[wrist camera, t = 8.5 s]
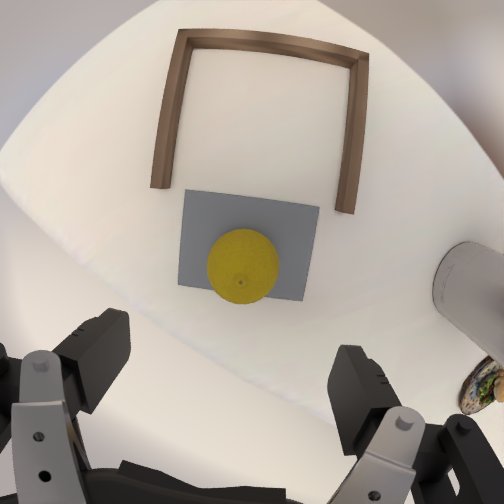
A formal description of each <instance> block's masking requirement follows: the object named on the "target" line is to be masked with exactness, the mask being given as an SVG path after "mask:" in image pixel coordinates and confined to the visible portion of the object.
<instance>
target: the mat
mask: <svg viewBox="0 0 504 504" xmlns="http://www.w3.org/2000/svg"><path fill="white" fill-rule="evenodd" d="M318 213H319V207H316V206H309V205H303V204H296V203H290V202H283V201H276V200H269V199H262V198H254V197H246V196H238V195H230V194H222V193H213V192H204V191H194V190H185V198H184V208H183V219H182V230H181V243H180V257H179V273H178V285H183V286H189V287H196V288H203V289H209V290H214V289H213V287H212V286H211V284H210V281H209V278H208V275H207V260H208V255H209V253H210V250H211V248H212V246H213V245H214V244H215V242H216V241H217V240H218V239H219V238H220V237H221V236H223V235H224V234H226V233H227V232H230V231H233V230H235V229H251V230H254V231H257V232H259V233H261V234H263V235H264V236H265V237H267V238H268V239H269V240H270V242H271V243H272V244H273V245H274V247H275V249H276V252H277V254H278V258H279V265H280V266H279V274H278V277H277V280H276V282H275V285H274V286H273V288H272V289H271V290H270V292H269V293H268V294H267V295H266V296H264V297H270V298H278V299H286V300H295V301H303V296H304V291H305V286H306V281H307V276H308V270H309V265H310V260H311V254H312V248H313V243H314V237H315V231H316V225H317V219H318Z"/></svg>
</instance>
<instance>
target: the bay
mask: <svg viewBox="0 0 504 504" xmlns="http://www.w3.org/2000/svg"><path fill="white" fill-rule="evenodd" d="M193 48H206V49H231V50H245V51H256V52H265V53H273V54H280V55H287V56H294V57H299V58H305V59H310V60H315V61H320V62H325V63H330V64H334V65H338V66H342V67H346V68H350V83H349V97H348V109H347V120H346V130H345V139H344V148H343V156H342V164H341V172H340V179H339V186H338V193H337V200H336V206H335V210H337V211H340V212H342V213H348V214H353V215H354V210H355V204H356V198H357V191H358V184H359V177H360V169H361V161H362V153H363V144H364V134H365V123H366V110H367V95H368V75H369V53H366V52H363V51H359V50H356V49H352V48H348V47H345V46H341V45H336V44H332V43H328V42H323V41H319V40H314V39H309V38H303V37H297V36H291V35H285V34H277V33H269V32H260V31H249V30H235V29H179V30H178V33H177V37H176V41H175V45H174V49H173V53H172V57H171V62H170V66H169V70H168V75H167V80H166V85H165V90H164V95H163V100H162V106H161V111H160V117H159V123H158V129H157V136H156V143H155V150H154V158H153V166H152V175H151V185H150V188H157V189H166V188H170V183H171V174H172V166H173V158H174V150H175V143H176V136H177V129H178V123H179V117H180V111H181V105H182V99H183V94H184V88H185V83H186V78H187V73H188V68H189V64H190V59H191V54H192V50H193Z"/></svg>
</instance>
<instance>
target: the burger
mask: <svg viewBox="0 0 504 504" xmlns="http://www.w3.org/2000/svg"><path fill="white" fill-rule="evenodd" d="M463 387H464V394H463V397H462V399H461V401H460V403H461V411H462V413H463V414H465V415H470V414H473V413H476V412H479V411H480V410H482V409H484V408H485V407H486V406H488V405H489V404H490V403H492V402H494V401H495V400H497V401H498V402H503V401H504V369H503V368H502V367H501V366H500V365H499V364H498V363H497V362H496V361H495V360H493V359H492V358H491V357H490V356H487V357H486V358H485V359H484V360H482V361H481V362H480V363H479V364H478V365H477V366H476V367H475V369H474V371H472V372H471V373H470V375H469V376H468V378H467V379H466V380H465V381H464V383H463Z"/></svg>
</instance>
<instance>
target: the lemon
mask: <svg viewBox="0 0 504 504" xmlns="http://www.w3.org/2000/svg"><path fill="white" fill-rule="evenodd" d="M279 266H280V265H279V258H278V254H277V252H276V249H275V247H274V245H273V244H272V243H271V242H270V240H269V239H268V238H267V237H265V236H264V235H263V234H261V233H259V232H257V231H254V230H251V229H235V230H233V231H230V232H227V233H226V234H224V235H223V236H221V237H220V238H219V239H218V240H217V241H216V242H215V244H214V245H213V246H212V248H211V250H210V253H209V255H208V260H207V275H208V278H209V281H210V284H211V286H212V287H213V289H214V290H215V292H216V293H217V294H218V295H220V296H221V297H222V298H223V299H225V300H227V301H229V302H232V303H236V304H249V303H254V302H256V301H258V300H260V299H262V298H263V297H264V296H266V295H267V294H268V293H269V292H270V290H271V289H272V288H273V286H274V285H275V282H276V280H277V277H278V274H279Z"/></svg>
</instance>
